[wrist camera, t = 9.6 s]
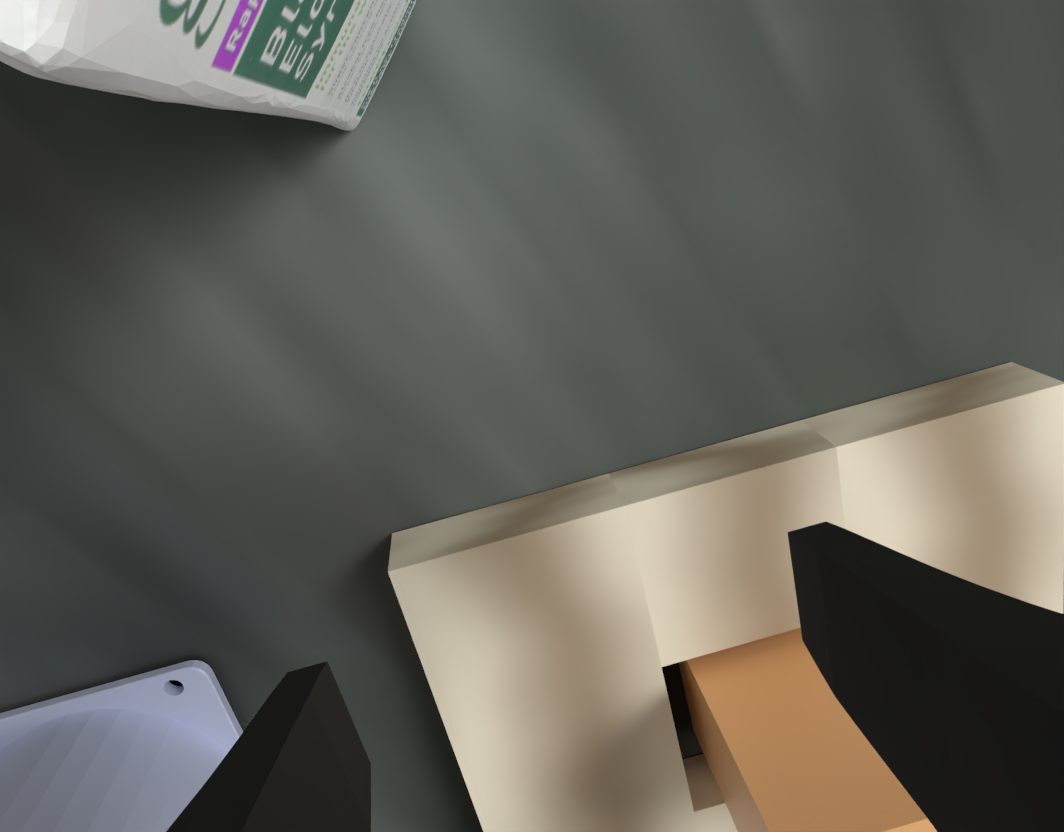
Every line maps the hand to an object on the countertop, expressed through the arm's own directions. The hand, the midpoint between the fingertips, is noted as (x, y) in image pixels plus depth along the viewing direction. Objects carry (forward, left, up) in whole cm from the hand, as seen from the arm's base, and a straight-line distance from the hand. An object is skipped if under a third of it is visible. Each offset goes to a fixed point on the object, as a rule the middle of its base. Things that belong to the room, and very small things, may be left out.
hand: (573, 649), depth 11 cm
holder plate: (+5, -10, -9) cm, 15 cm away
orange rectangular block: (+5, -10, -9) cm, 14 cm away
